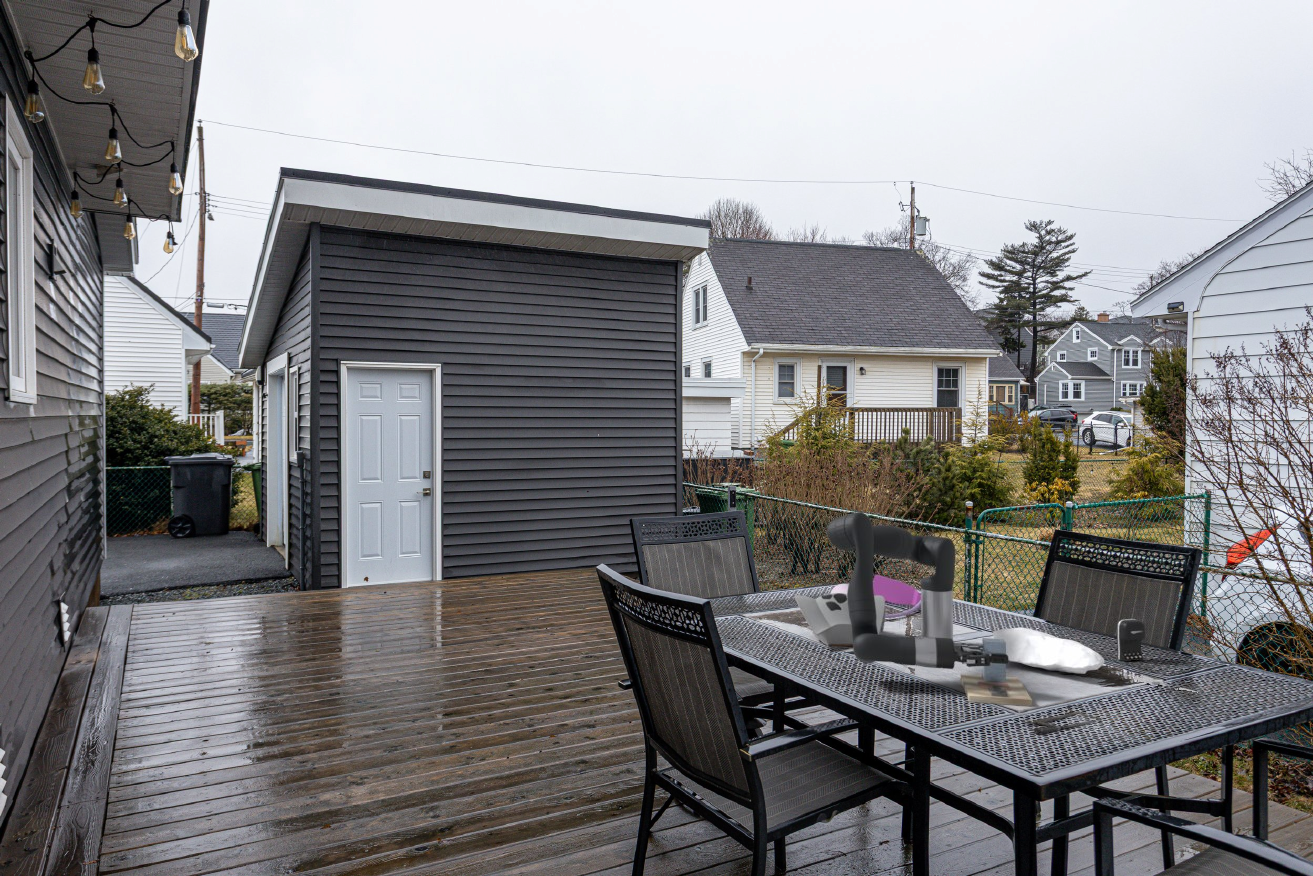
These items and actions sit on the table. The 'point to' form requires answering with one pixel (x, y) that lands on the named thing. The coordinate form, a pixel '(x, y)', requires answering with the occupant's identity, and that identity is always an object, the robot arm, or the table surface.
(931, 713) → the table surface
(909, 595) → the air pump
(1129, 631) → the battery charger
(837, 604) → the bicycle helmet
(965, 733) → the table surface
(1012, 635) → the crumpled cloth
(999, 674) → the link block
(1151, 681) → the pliers
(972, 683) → the tan flat wooden board
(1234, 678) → the table surface
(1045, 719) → the hacksaw
